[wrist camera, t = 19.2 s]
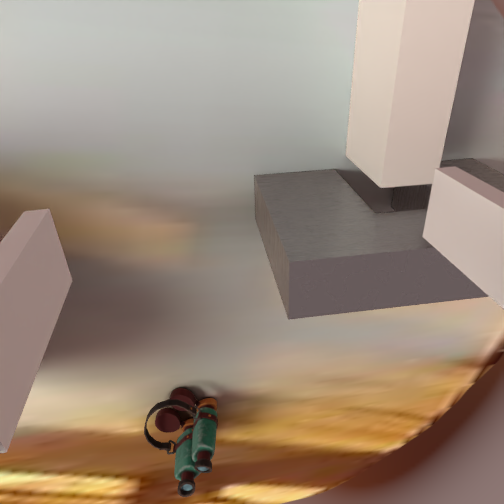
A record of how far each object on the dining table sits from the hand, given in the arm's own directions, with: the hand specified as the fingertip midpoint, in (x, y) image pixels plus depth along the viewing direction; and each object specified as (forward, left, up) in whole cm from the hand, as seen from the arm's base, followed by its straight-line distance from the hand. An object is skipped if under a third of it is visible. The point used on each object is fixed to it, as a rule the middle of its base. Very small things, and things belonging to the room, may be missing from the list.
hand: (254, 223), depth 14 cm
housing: (+19, +2, -27) cm, 33 cm away
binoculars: (+21, -37, -28) cm, 51 cm away
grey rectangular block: (+9, +13, -27) cm, 32 cm away
